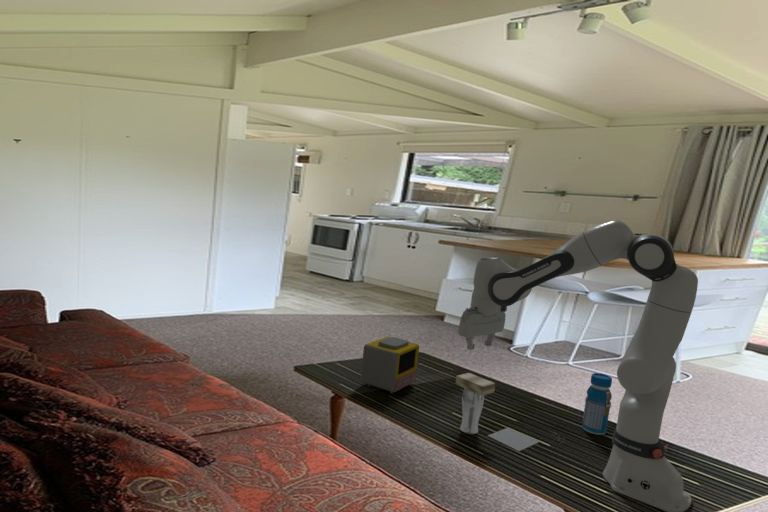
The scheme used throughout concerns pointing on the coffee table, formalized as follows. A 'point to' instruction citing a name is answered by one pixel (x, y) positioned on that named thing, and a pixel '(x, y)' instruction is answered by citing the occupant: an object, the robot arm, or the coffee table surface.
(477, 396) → the beer glass
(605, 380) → the beverage bottle
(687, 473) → the coffee table surface
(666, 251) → the robot arm
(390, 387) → the alarm clock
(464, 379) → the birch lid
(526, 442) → the grey mat
